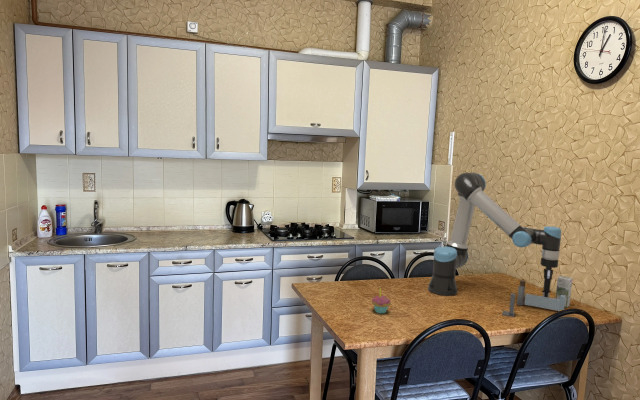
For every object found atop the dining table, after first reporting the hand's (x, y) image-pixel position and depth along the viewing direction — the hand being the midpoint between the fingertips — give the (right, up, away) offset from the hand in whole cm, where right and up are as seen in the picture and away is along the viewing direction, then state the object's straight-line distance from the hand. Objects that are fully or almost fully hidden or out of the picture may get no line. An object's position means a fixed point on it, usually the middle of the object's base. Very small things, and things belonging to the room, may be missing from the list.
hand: (544, 304), depth 212 cm
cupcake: (-84, +1, -17) cm, 86 cm away
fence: (-7, 0, +10) cm, 12 cm away
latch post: (-24, -2, -12) cm, 27 cm away
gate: (-4, -1, -2) cm, 4 cm away
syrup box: (+11, -2, +5) cm, 13 cm away
